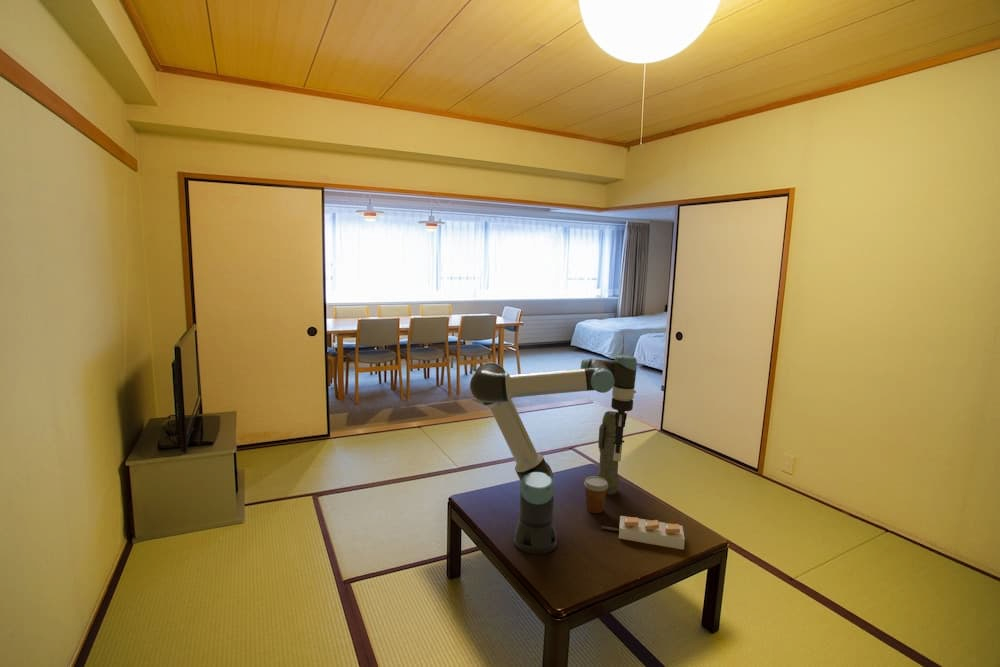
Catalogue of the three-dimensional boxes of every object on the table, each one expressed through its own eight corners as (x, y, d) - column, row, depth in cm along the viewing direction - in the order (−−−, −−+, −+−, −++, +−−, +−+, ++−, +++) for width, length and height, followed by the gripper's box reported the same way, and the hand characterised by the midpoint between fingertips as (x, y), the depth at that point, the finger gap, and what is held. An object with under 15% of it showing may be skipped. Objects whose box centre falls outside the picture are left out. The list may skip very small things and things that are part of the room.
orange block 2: (645, 530, 168) (644, 526, 168) (645, 525, 171) (644, 521, 171) (659, 528, 167) (657, 524, 167) (658, 523, 170) (657, 519, 170)
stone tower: (624, 490, 206) (629, 413, 201) (605, 497, 200) (610, 418, 195) (608, 482, 214) (613, 408, 208) (590, 489, 207) (594, 412, 202)
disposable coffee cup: (605, 504, 194) (606, 476, 192) (608, 516, 185) (610, 487, 183) (581, 502, 195) (583, 475, 193) (583, 514, 186) (585, 485, 184)
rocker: (665, 533, 166) (665, 529, 166) (665, 527, 169) (664, 524, 169) (680, 532, 165) (679, 528, 165) (679, 527, 168) (678, 523, 168)
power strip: (600, 535, 172) (601, 523, 171) (602, 522, 180) (602, 511, 180) (683, 549, 164) (684, 537, 163) (681, 535, 173) (682, 524, 172)
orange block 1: (624, 526, 170) (624, 522, 170) (624, 521, 173) (624, 517, 173) (638, 525, 169) (637, 521, 168) (638, 520, 172) (637, 517, 172)
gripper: (632, 404, 163) (626, 469, 166) (634, 394, 175) (628, 455, 178) (610, 401, 165) (604, 465, 168) (613, 392, 177) (607, 451, 181)
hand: (616, 460), depth 173 cm, fingers closed
